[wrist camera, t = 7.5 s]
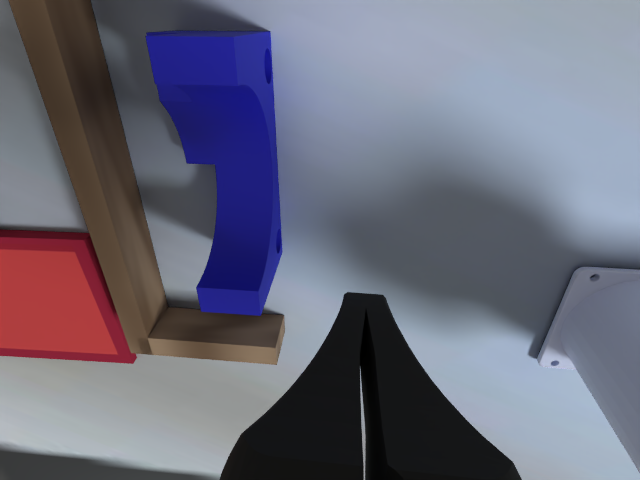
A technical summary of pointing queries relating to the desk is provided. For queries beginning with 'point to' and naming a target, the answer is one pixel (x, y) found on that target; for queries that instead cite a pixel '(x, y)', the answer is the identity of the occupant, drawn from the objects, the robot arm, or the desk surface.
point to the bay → (121, 194)
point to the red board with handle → (57, 299)
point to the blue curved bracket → (228, 153)
